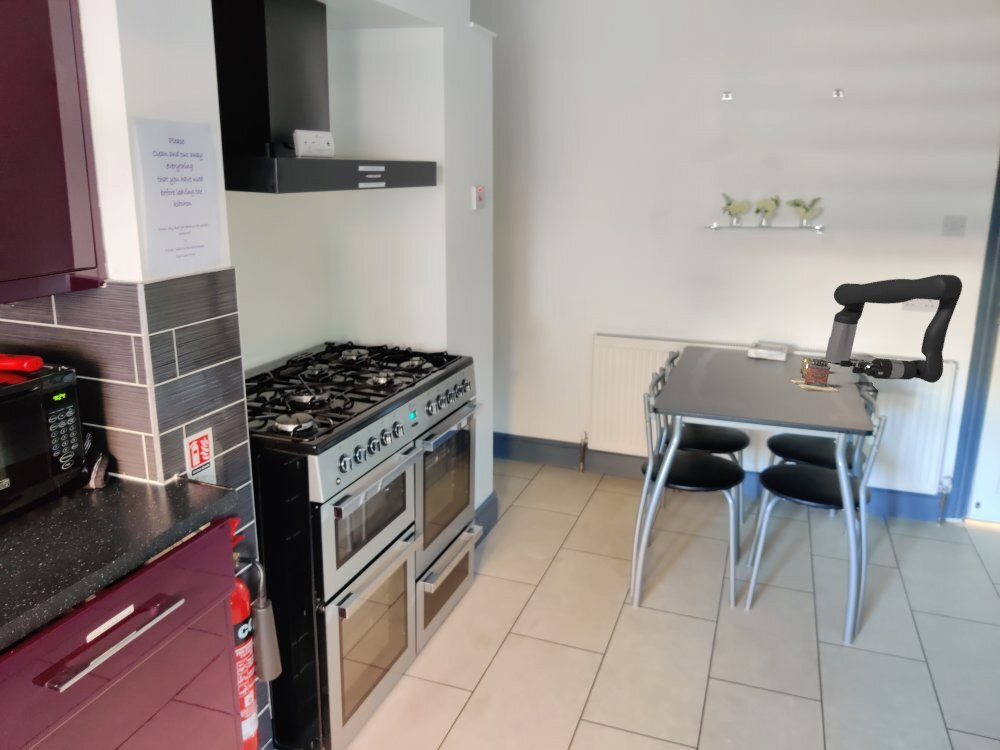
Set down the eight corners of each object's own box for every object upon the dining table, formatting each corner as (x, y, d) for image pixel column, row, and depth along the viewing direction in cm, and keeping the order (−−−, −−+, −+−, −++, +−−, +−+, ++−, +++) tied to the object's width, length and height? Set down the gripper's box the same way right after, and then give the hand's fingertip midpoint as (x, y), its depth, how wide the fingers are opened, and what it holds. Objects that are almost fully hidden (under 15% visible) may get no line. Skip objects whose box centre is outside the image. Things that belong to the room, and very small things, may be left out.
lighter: (824, 384, 301) (830, 358, 299) (827, 387, 298) (833, 361, 295) (802, 382, 301) (808, 356, 299) (805, 385, 298) (811, 358, 295)
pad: (791, 381, 305) (791, 379, 305) (821, 382, 307) (821, 381, 306) (807, 390, 293) (807, 389, 293) (838, 392, 295) (838, 390, 295)
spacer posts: (790, 370, 321) (793, 355, 319) (823, 372, 323) (826, 357, 321) (804, 378, 310) (807, 363, 309) (838, 380, 312) (841, 365, 311)
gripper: (878, 354, 308) (838, 351, 305) (901, 364, 294) (859, 362, 292) (873, 373, 310) (834, 370, 307) (896, 384, 296) (855, 382, 294)
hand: (846, 366), depth 300 cm, fingers open, 8 cm apart
